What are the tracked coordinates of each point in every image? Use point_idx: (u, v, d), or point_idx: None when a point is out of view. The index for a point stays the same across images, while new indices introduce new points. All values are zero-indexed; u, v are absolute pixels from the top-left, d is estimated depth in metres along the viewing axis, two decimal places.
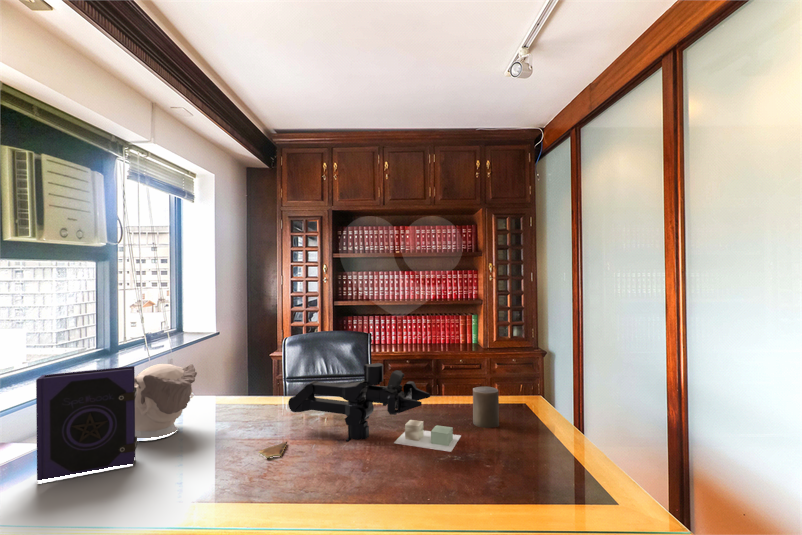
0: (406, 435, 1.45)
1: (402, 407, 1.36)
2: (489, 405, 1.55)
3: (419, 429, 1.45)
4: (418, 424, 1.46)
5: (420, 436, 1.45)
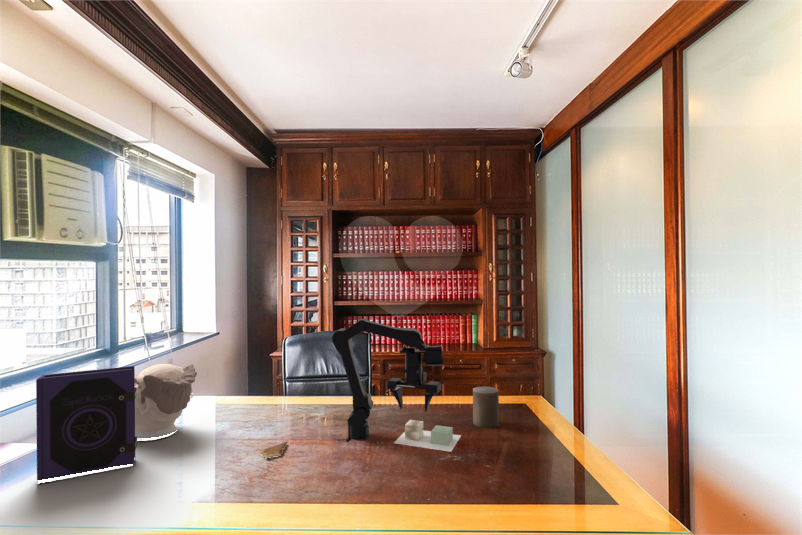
0: (406, 435, 1.45)
1: None
2: (489, 405, 1.55)
3: (419, 429, 1.45)
4: (418, 424, 1.46)
5: (420, 436, 1.45)
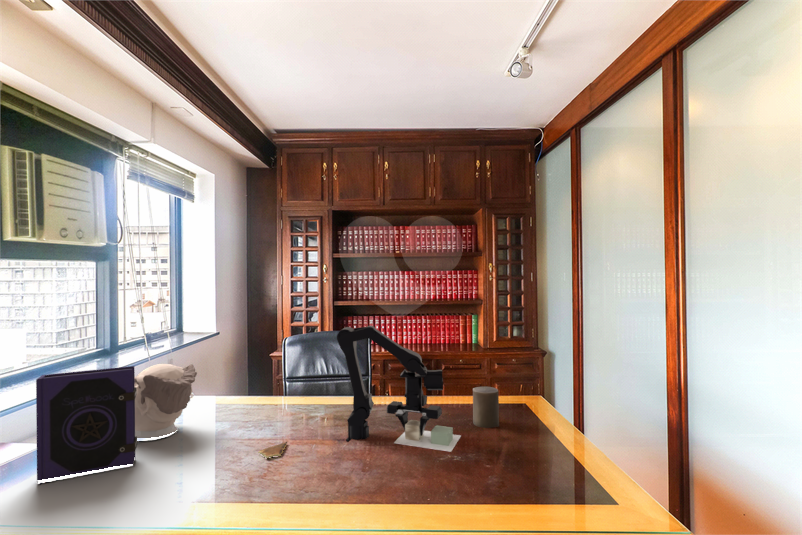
0: (406, 435, 1.45)
1: None
2: (489, 405, 1.55)
3: (419, 429, 1.45)
4: (418, 424, 1.46)
5: (420, 436, 1.45)
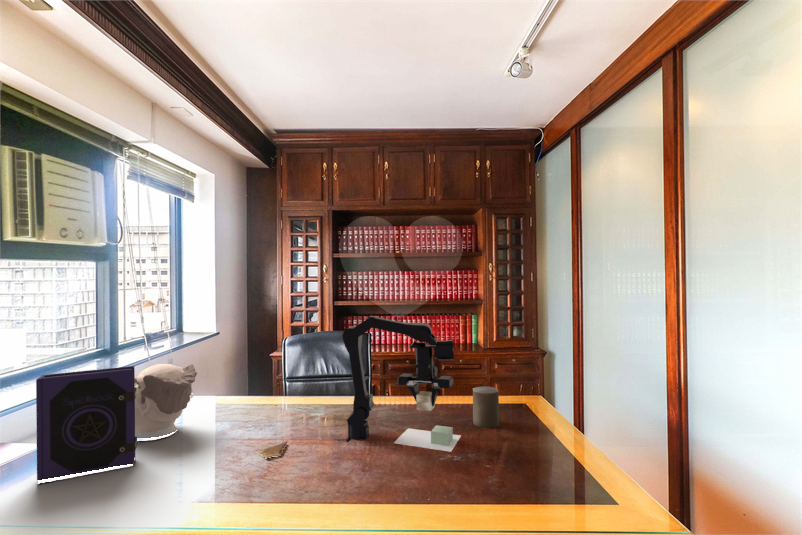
0: (417, 406, 1.44)
1: None
2: (489, 405, 1.55)
3: (431, 399, 1.43)
4: (429, 395, 1.44)
5: (432, 407, 1.44)
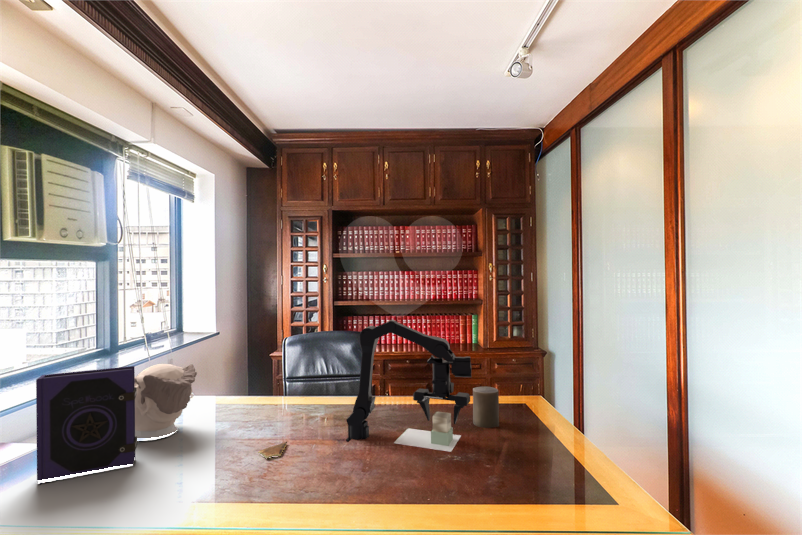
0: (434, 427, 1.42)
1: None
2: (489, 405, 1.55)
3: (447, 421, 1.41)
4: (446, 416, 1.42)
5: (448, 428, 1.42)
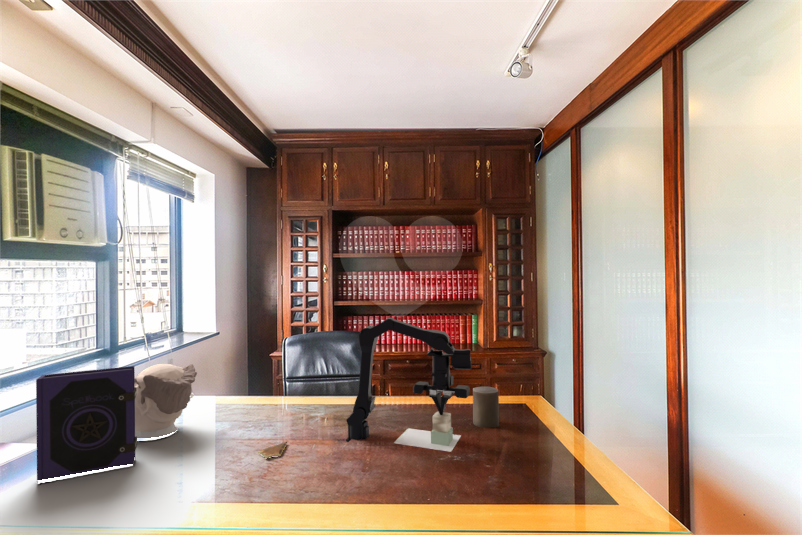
0: (434, 427, 1.42)
1: None
2: (489, 405, 1.55)
3: (447, 421, 1.41)
4: (446, 416, 1.42)
5: (448, 428, 1.42)
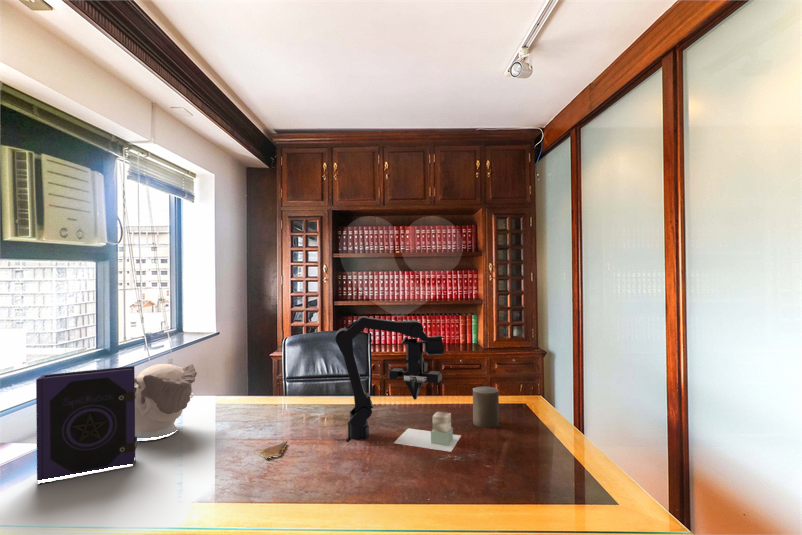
0: (434, 427, 1.42)
1: None
2: (489, 405, 1.55)
3: (447, 421, 1.41)
4: (446, 416, 1.42)
5: (448, 428, 1.42)
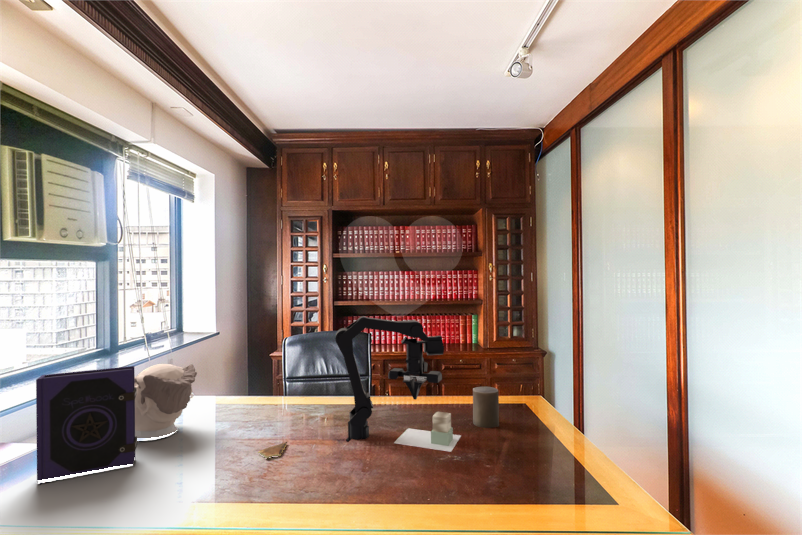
0: (434, 427, 1.42)
1: None
2: (489, 405, 1.55)
3: (447, 421, 1.41)
4: (446, 416, 1.42)
5: (448, 428, 1.42)
